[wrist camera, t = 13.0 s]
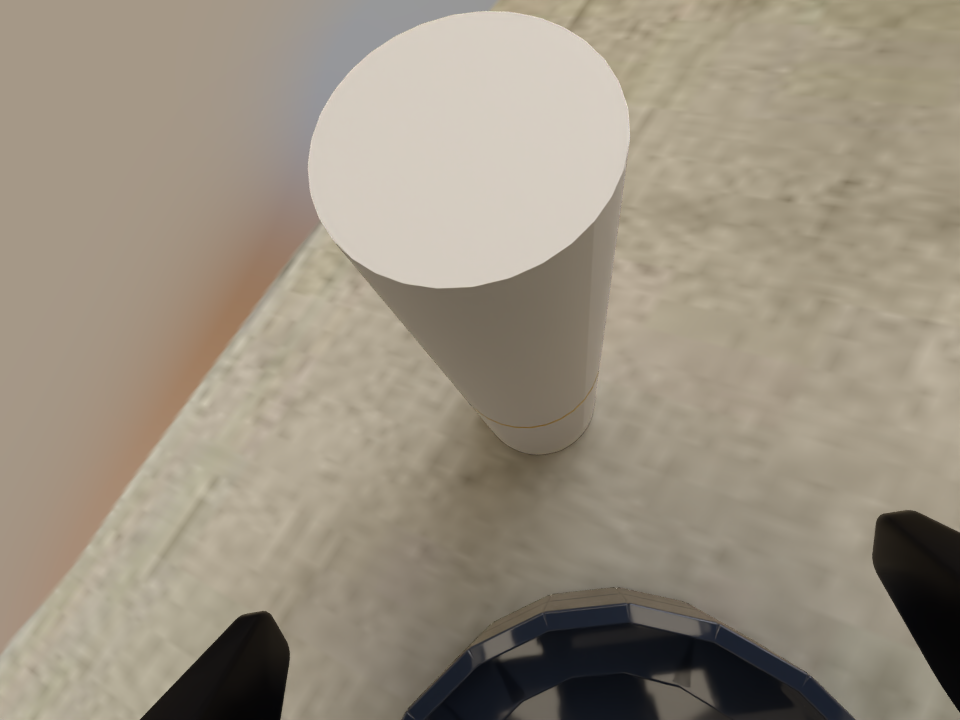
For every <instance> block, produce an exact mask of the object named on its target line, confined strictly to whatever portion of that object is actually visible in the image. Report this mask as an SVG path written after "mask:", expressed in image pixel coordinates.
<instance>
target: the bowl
mask: <svg viewBox="0 0 960 720" xmlns="http://www.w3.org/2000/svg"><path fill="white" fill-rule="evenodd" d="M402 720H855V719H854V718H853V717H852V716H851V715H850V714H849V713H848V712H847V711H846V710H845V709H844V708H843V707H842V706H841V705H840V704H839V703H838V702H837V701H836V700H835V699H834V698H833V697H832V696H831V695H830V694H829V693H828V692H827V691H826V690H825V689H824V688H823V687H822V686H821V685H820V684H819V683H818V682H817V681H816V680H815V679H814V678H813V677H812V676H810V675H809V674H808V673H807V672H805V671H803V670H802V669H800V668H799V667H797V666H795V665H794V664H792V663H790V662H789V661H787V660H785V659H784V658H782V657H780V656H779V655H777V654H775V653H774V652H772V651H771V650H769V649H767V648H766V647H764V646H762V645H761V644H759V643H757V642H756V641H754V640H752V639H751V638H749V637H747V636H745V635H744V634H742V633H740V632H738V631H736V630H735V629H733V628H731V627H729V626H728V625H726V624H724V623H722V622H721V621H719V620H717V619H715V618H713V617H712V616H710V615H708V614H706V613H705V612H703V611H701V610H699V609H698V608H696V607H694V606H692V605H690V604H689V603H685V602H683V601H679V600H675V599H670V598H666V597H661V596H656V595H652V594H647V593H643V592H638V591H634V590H629V589H624V588H620V587H618V588H617V589H616V588H615V587H610V588H601V589H592V590H583V591H574V592H566V593H557V594H552V595H548V596H546V597H543V598H541V599H539V600H537V601H535V602H533V603H531V604H529V605H527V606H525V607H523V608H521V609H519V610H517V611H515V612H513V613H511V614H509V615H507V616H505V617H502V618H500V619H498V620H496V621H494V622H493V623H492V624H490V625H489V626H488V627H487V628H486V629H485V630H484V631H483V632H482V633H481V634H480V635H479V636H478V637H477V638H476V639H475V640H474V641H473V642H472V643H471V644H470V645H469V646H468V647H467V648H466V649H465V650H464V651H463V652H462V653H461V654H460V655H459V656H458V657H457V658H456V659H455V660H454V661H453V662H452V663H451V664H450V665H449V666H448V667H447V668H446V669H445V670H444V671H443V672H442V674H441V675H440V676H439V677H438V678H437V679H436V680H435V681H434V682H433V683H432V684H431V685H430V686H429V687H428V688H427V689H426V690H425V691H424V692H423V693H422V694H421V695H420V696H419V697H418V699H417V700H416V701H415V702H414V703H413V704H412V705H411V706H410V707H409V708H408V710H407V711H406V712H405V714H404V716H403V718H402Z"/></svg>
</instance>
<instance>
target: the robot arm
mask: <svg viewBox="0 0 960 720" xmlns="http://www.w3.org/2000/svg"><path fill="white" fill-rule="evenodd" d="M872 559H873V564H874V568H875V570H876V573H877V575H878V576H879V578H880V580H881V582H882V583H883V585H884V587H885V589H886V590H887V592H888V594H889V596H890V598H891V599H892V601H893V603H894V605H895V606H896V608H897V610H898V612H899V613H900V615H901V617H902V619H903V620H904V622H905V624H906V626H907V627H908V629H909V631H910V633H911V634H912V636H913V638H914V640H915V641H916V643H917V645H918V647H919V648H920V650H921V652H922V654H923V655H924V657H925V659H926V661H927V662H928V664H929V666H930V668H931V669H932V671H933V672H934V674H935V676H936V677H937V679H938V681H939V682H940V684H941V686H942V687H943V689H944V690H945V692H946V693H947V695H948V696H949V698H950V699H951V701H952V702H953V704H954V705H955V706H956V708H957V709H958V711H959V712H960V533H959V532H957V531H955V530H953V529H951V528H949V527H947V526H945V525H943V524H941V523H939V522H937V521H935V520H933V519H931V518H929V517H927V516H925V515H923V514H921V513H918V512H916V511H912V510H904V511H898V512H891V513H885V514H882V515H880V516H879V517H878V519H877V521H876V528H875V536H874V545H873V553H872ZM289 660H290V651H289V646H288V643H287V641H286V639H285V638H284V636H283V634H282V632H281V631H280V629H279V627H278V626H277V624H276V622H275V620H274V619H273V617H272V615H271V614H270V613H268V612H266V611H260V612H254V613H248V614H244V615H241V616H240V617H238V618H237V619H236V620H235V621H234V622H233V623H232V624H231V625H230V626H229V627H228V628H227V629H226V630H225V631H224V632H223V634H222V635H221V636H220V637H219V638H218V639H217V640H216V641H215V642H214V643H213V644H212V645H211V646H210V647H209V648H208V649H207V650H206V651H205V652H204V653H203V654H202V655H201V656H200V658H199V659H198V660H197V661H196V662H195V663H194V664H193V665H192V666H191V667H190V668H189V669H188V670H187V671H186V672H185V673H184V674H183V675H182V676H181V677H180V678H179V679H178V680H177V681H176V683H175V684H174V685H173V686H172V687H171V688H170V689H169V690H168V691H167V692H166V693H165V694H164V695H163V696H162V697H161V698H160V699H159V700H158V701H157V702H156V703H155V704H154V705H153V706H152V708H151V709H150V710H149V711H148V712H147V713H146V714H145V715H144V716H143V717H142V718H141V719H140V720H280V719H281V712H282V706H283V699H284V693H285V687H286V680H287V674H288V667H289Z"/></svg>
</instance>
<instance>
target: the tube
mask: <svg viewBox="0 0 960 720" xmlns="http://www.w3.org/2000/svg"><path fill="white" fill-rule="evenodd" d="M629 142H630V129H629V113H628V107H627V104H626V101H625V98H624V95H623V92H622V89H621V86H620V83H619V81H618V79H617V78H616V76H615V74H614V73H613V71H612V70H611V68H610V67H609V65H608V64H607V62H606V61H605V59H604V58H603V57H602V56H601V55H600V54H599V53H598V52H597V51H596V50H595V49H594V48H593V47H592V46H590V45H589V44H588V43H587V42H586V41H585V40H584V39H582V38H580V37H579V36H577V35H576V34H574V33H572V32H571V31H569V30H568V29H566V28H564V27H562V26H560V25H557V24H555V23H552V22H549V21H547V20H544V19H542V18H539V17H534V16H529V15H524V14H519V13H514V12H495V11H479V12H472V13H464V14H456V15H450V16H447V17H444V18H440V19H437V20H433V21H430V22H426V23H423V24H421V25H418V26H417V27H414V28H412V29H410V30H408V31H406V32H403V33H401V34H399V35H397V36H395V37H394V38H392V39H390V40H389V41H387V42H386V43H384V44H383V45H382V46H380V47H378V48H377V49H375V50H374V51H372V52H371V53H370V54H369V55H367V56H366V57H365V58H364V59H363V60H362V61H361V62H360V63H358V64H357V65H356V66H355V67H354V68H353V69H352V70H351V71H350V72H349V73H348V74H347V76H346V77H345V78H344V79H343V80H342V82H341V83H340V84H339V85H338V86H337V88H336V89H335V90H334V92H333V93H332V95H331V97H330V98H329V100H328V102H327V104H326V105H325V107H324V109H323V110H322V112H321V114H320V117H319V120H318V122H317V125H316V128H315V131H314V133H313V137H312V139H311V146H310V153H309V160H308V175H309V186H310V194H311V197H312V200H313V203H314V205H315V208H316V211H317V214H318V217H319V219H320V221H321V222H322V224H323V225H324V227H325V228H326V230H327V232H328V233H329V235H330V236H331V238H332V239H333V241H334V242H335V243H336V244H337V246H338V247H339V248H340V249H341V250H342V252H343V253H344V254H345V255H346V256H347V258H348V259H349V260H350V261H351V262H352V264H353V265H354V266H355V267H356V268H357V269H358V271H359V272H360V273H361V274H362V275H363V277H364V278H365V279H366V280H367V281H368V283H369V284H370V285H371V286H372V287H373V289H374V290H375V291H376V292H377V293H378V295H379V296H380V297H381V298H382V299H383V301H384V302H385V303H386V304H387V305H388V307H389V308H390V309H391V310H392V311H393V313H394V314H395V315H396V316H397V317H398V319H399V320H400V321H401V322H402V323H403V325H404V326H405V327H406V328H407V329H408V331H409V332H410V333H411V334H412V335H413V337H414V338H415V339H416V340H417V341H418V343H419V344H420V345H421V346H422V347H423V349H424V350H425V351H426V352H427V353H428V354H429V356H430V357H431V358H432V359H433V360H434V362H435V363H436V364H437V365H438V366H439V368H440V369H441V370H442V371H443V372H444V374H445V375H446V376H447V377H448V378H449V380H450V381H451V382H452V383H453V384H454V386H455V387H456V388H457V389H458V390H459V392H460V393H461V394H462V395H463V396H464V398H465V399H466V400H467V401H468V402H469V404H470V405H471V406H472V407H473V408H474V410H475V411H476V412H477V413H478V414H479V416H480V417H481V418H482V419H483V420H484V422H485V423H486V424H487V425H488V426H489V428H490V429H491V430H492V431H493V432H494V434H495V435H496V436H497V437H498V438H499V439H500V440H501V441H502V442H503V443H505V444H506V445H508V446H509V447H511V448H513V449H515V450H518V451H520V452H523V453H528V454H549V453H554V452H557V451H560V450H562V449H564V448H566V447H568V446H569V445H571V444H572V443H574V442H575V441H576V440H577V439H578V438H579V437H580V436H581V435H582V434H583V433H584V431H585V430H586V428H587V427H588V425H589V423H590V420H591V418H592V415H593V410H594V404H595V397H596V389H597V381H598V374H599V366H600V358H601V352H602V345H603V338H604V330H605V323H606V315H607V308H608V300H609V293H610V285H611V278H612V270H613V263H614V255H615V248H616V240H617V233H618V225H619V218H620V210H621V203H622V195H623V188H624V180H625V172H626V165H627V157H628V150H629Z"/></svg>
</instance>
